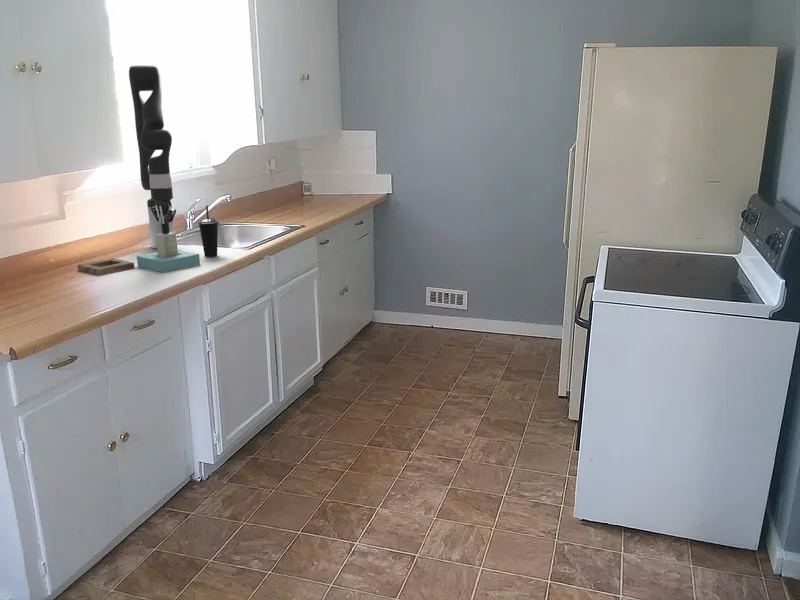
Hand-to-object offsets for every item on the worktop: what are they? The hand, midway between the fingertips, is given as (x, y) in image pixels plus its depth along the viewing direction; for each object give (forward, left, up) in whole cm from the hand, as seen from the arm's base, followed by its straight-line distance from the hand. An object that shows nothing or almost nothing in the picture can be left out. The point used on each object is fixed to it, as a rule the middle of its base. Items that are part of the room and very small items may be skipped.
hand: (165, 233), depth 258 cm
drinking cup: (-1, +20, -12) cm, 24 cm away
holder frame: (-14, -17, -12) cm, 25 cm away
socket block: (0, 0, -12) cm, 12 cm away
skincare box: (0, 0, -12) cm, 12 cm away
